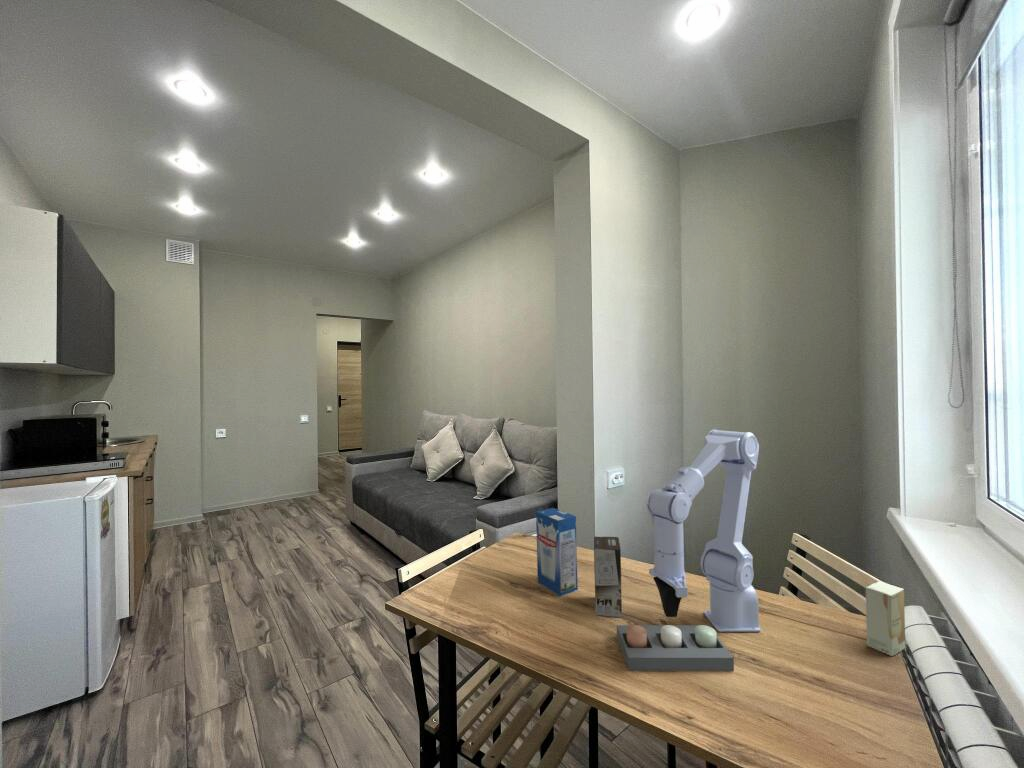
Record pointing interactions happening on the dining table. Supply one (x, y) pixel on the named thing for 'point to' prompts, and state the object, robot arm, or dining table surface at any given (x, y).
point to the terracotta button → (636, 637)
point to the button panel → (674, 652)
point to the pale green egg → (705, 637)
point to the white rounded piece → (671, 637)
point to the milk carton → (556, 551)
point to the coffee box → (607, 576)
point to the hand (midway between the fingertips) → (670, 615)
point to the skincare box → (885, 618)
